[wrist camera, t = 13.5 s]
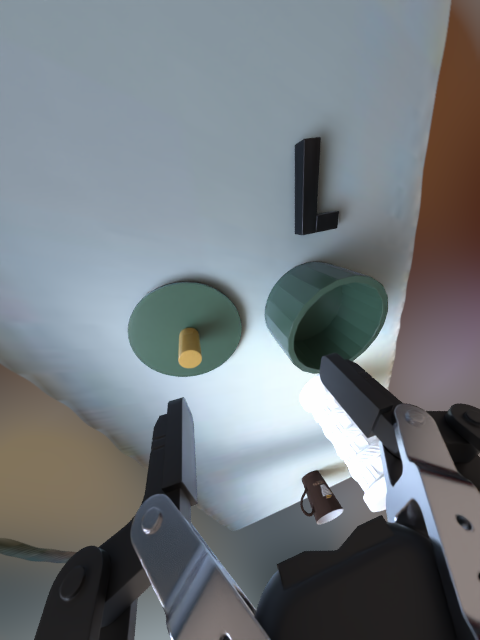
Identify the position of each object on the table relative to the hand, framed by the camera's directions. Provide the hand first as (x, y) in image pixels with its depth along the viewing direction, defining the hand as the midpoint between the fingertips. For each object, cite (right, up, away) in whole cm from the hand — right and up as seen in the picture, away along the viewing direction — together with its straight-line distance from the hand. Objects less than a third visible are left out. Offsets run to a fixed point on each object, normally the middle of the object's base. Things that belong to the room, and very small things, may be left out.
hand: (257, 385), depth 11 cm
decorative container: (+17, -12, +31) cm, 37 cm away
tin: (+9, +6, +19) cm, 22 cm away
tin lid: (-8, +2, +15) cm, 17 cm away
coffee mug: (+21, -48, +52) cm, 74 cm away
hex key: (+7, +19, +11) cm, 23 cm away
